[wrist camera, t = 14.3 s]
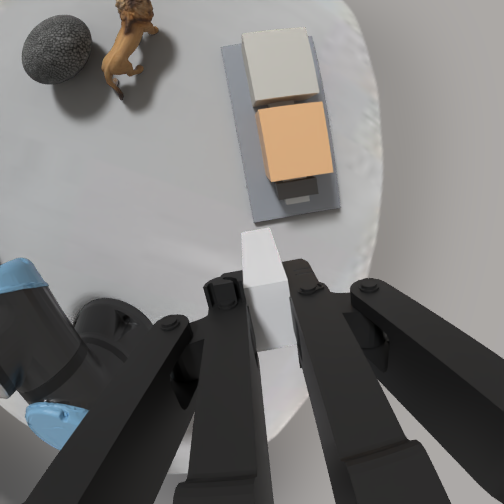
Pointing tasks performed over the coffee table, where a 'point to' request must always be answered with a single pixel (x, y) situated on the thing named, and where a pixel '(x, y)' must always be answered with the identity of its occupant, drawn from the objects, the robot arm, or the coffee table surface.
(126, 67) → the lion figurine
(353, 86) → the coffee table surface
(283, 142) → the block
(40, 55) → the decorative ball
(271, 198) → the rail board
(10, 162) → the coffee table surface
